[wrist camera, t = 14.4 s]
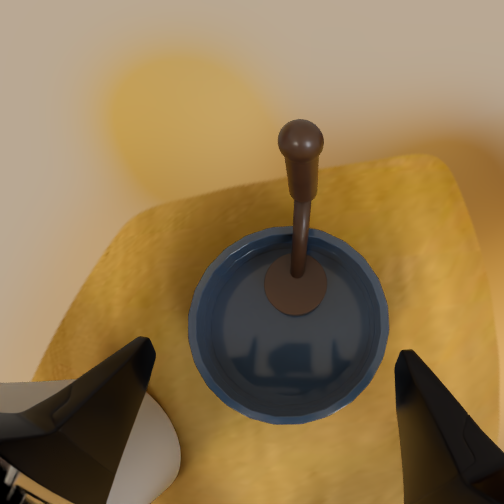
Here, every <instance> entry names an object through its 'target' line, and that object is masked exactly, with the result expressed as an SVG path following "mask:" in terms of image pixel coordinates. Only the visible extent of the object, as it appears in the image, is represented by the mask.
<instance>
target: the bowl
mask: <svg viewBox="0 0 504 504" xmlns="http://www.w3.org/2000/svg"><path fill="white" fill-rule="evenodd" d="M292 235H293V226H286V227H272V228H268V229H265V230H262V231H259V232H256V233H252V234H249V235H247V236H245V237H243V238H241V239H240V240H238V241H237V242H235V243H234V244H232V245H230V246H229V247H227V248H226V249H225V250H224V251H223V252H222V253H221V254H220V255H219V256H218V257H217V258H216V259H215V260H214V261H213V262H212V263H211V264H210V265H209V266H208V268H207V269H206V271H205V273H204V275H203V276H202V278H201V280H200V282H199V283H198V285H197V287H196V290H195V292H194V295H193V299H192V303H191V307H190V310H189V314H188V339H189V344H190V348H191V352H192V355H193V359H194V363H195V365H196V367H197V369H198V370H199V372H200V374H201V376H202V378H203V379H204V381H205V383H206V384H207V386H208V387H209V388H210V389H211V390H212V391H213V392H214V393H215V394H216V395H217V396H218V397H219V398H220V399H221V400H222V401H223V402H224V403H225V404H226V405H227V406H229V407H231V408H232V409H234V410H236V411H238V412H239V413H241V414H243V415H245V416H247V417H249V418H251V419H255V420H259V421H262V422H266V423H270V424H304V423H308V422H311V421H315V420H318V419H322V418H325V417H328V416H330V415H332V414H333V413H335V412H337V411H338V410H340V409H342V408H343V407H345V406H346V405H348V404H350V403H351V402H352V401H353V400H354V399H355V398H356V397H357V396H358V395H359V394H360V393H361V392H362V391H363V390H364V389H365V388H366V387H367V386H368V384H369V383H370V382H371V380H372V379H373V377H374V375H375V373H376V371H377V369H378V367H379V365H380V364H381V362H382V360H383V357H384V353H385V349H386V344H387V339H388V335H389V317H388V305H387V301H386V298H385V295H384V292H383V290H382V287H381V284H380V281H379V279H378V277H377V276H376V274H375V273H374V271H373V270H372V269H371V267H370V266H369V264H368V263H367V261H366V260H365V259H364V257H363V256H361V255H360V254H359V253H358V252H357V251H355V250H354V249H353V248H352V247H351V246H350V245H348V244H347V243H346V242H344V241H343V240H341V239H338V238H336V237H334V236H332V235H330V234H328V233H326V232H323V231H321V230H316V229H311V228H309V233H308V244H307V255H309V256H311V257H313V258H314V259H316V260H317V261H318V262H319V263H320V264H321V266H322V267H323V269H324V271H325V274H326V277H327V290H326V293H325V296H324V298H323V300H322V302H321V303H320V305H319V306H318V307H317V308H316V309H315V310H313V311H312V312H310V313H308V314H305V315H302V316H290V315H286V314H283V313H282V312H280V311H278V310H277V309H276V308H275V307H274V306H273V305H272V304H271V303H270V302H269V300H268V298H267V296H266V293H265V289H264V279H265V275H266V272H267V270H268V268H269V267H270V265H271V264H272V263H273V262H274V261H275V260H276V259H278V258H279V257H281V256H283V255H286V254H289V253H291V252H292Z"/></svg>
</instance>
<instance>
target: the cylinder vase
mask: <svg viewBox="0 0 504 504" xmlns="http://www.w3.org/2000/svg"><path fill="white" fill-rule="evenodd" d="M75 380H76V379H70V380H58V381H42V382H20V383H0V412H1V413H19V412H23V411H25V410H27V409H29V408H31V407H33V406H34V405H36V404H38V403H40V402H42V401H43V400H45V399H47V398H49V397H50V396H52V395H54V394H56V393H57V392H59V391H60V390H62V389H63V388H65V387H66V386H68V385H69V384H72V382H74V381H75ZM180 462H181V451H180V445H179V441H178V437H177V434H176V432H175V429H174V427H173V425H172V423H171V421H170V419H169V418H168V416H167V415H166V413H165V412H164V410H163V409H162V408H161V406H160V405H159V404H158V403H157V402H156V401H155V400H154V399H153V398H152V397H151V396H150V395H149V394H148V393H147V392H146V393H145V396H144V399H143V401H142V404H141V407H140V409H139V412H138V414H137V417H136V420H135V422H134V425H133V428H132V430H131V433H130V436H129V439H128V441H127V444H126V447H125V450H124V452H123V455H122V458H121V461H120V464H119V467H118V470H117V472H116V475H115V479H114V482H113V485H112V488H111V491H110V494H109V497H108V500H107V503H106V504H150V503H151V502H152V501H154V500H155V499H156V498H157V497H158V496H159V495H160V494H161V493H162V492H164V491H165V490H166V489H167V488H168V487H169V486H170V485H171V484H172V483H173V481H174V480H175V478H176V476H177V474H178V472H179V468H180Z"/></svg>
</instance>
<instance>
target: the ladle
mask: <svg viewBox="0 0 504 504" xmlns="http://www.w3.org/2000/svg"><path fill="white" fill-rule="evenodd" d="M323 144H324V139H323V135H322V133H321V131H320V129H319V128H318V127H317V126H316V125H315V124H313V123H312V122H310V121H308V120H303V119H298V120H293V121H290V122H288V123H287V124H286V125H284V127H283V128H282V129H281V131H280V133H279V136H278V146H279V149H280V151H281V153H282V154H283V155H284V157H285V163H286V170H287V177H288V185H289V192H290V195H291V197H292V198H293V199H294V216H293V235H292V252H291V253H289V254H286V255H283V256H281V257H279V258H278V259H276V260H275V261H274V262H273V263H272V264H271V265H270V267H269V268H268V270H267V272H266V275H265V279H264V289H265V293H266V296H267V298H268V300H269V302H270V303H271V304H272V305H273V306H274V307H275V308H276V309H277V310H278V311H280V312H282V313H283V314H286V315H290V316H302V315H305V314H308V313H310V312H312V311H313V310H315V309H316V308H317V307H318V306H319V305H320V303H321V302H322V300H323V298H324V296H325V293H326V290H327V277H326V274H325V271H324V269H323V267H322V266H321V264H320V263H319V262H318V261H317V260H316V259H314V258H313V257H311V256H309V255H307V244H308V233H309V222H310V210H311V200H313V199H314V198H315V196H316V194H317V185H318V161H319V155H320V153H321V152H322V149H323Z"/></svg>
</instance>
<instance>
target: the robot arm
mask: <svg viewBox="0 0 504 504" xmlns="http://www.w3.org/2000/svg"><path fill="white" fill-rule="evenodd" d="M155 358H156V353H155V350H154V347H153V345H152V343H151V340H150V339H149V338H147V337H141V336H140V337H137V338H136V339H134V340H133V341H131V342H130V343H129V344H127V345H126V346H124V347H123V348H121V349H120V350H118V351H117V352H116V353H114V354H113V355H111V356H110V357H108V358H107V359H105V360H104V361H103V362H101V363H100V364H98V365H97V366H95V367H94V368H92V369H91V370H89V371H88V372H87V373H85V374H84V375H82V376H81V377H79V378H78V379H76V380H75V381H74V382H72V384H69V385H68V386H66V387H65V388H63V389H62V390H60V391H59V392H57V393H56V394H54V395H52V396H50V397H49V398H47V399H45V400H43V401H42V402H40V403H38V404H36V405H34V406H33V407H31V408H29V409H27V410H25V411H23V412H19V413H1V412H0V504H106V503H107V500H108V497H109V494H110V491H111V488H112V485H113V482H114V479H115V475H116V472H117V470H118V467H119V464H120V461H121V458H122V455H123V452H124V450H125V447H126V444H127V441H128V439H129V436H130V433H131V430H132V428H133V425H134V422H135V420H136V417H137V414H138V412H139V409H140V407H141V404H142V401H143V399H144V396H145V393H146V391H147V387H148V384H149V380H150V376H151V373H152V369H153V365H154V362H155ZM394 371H395V391H396V412H397V419H398V427H399V436H400V445H401V456H402V468H403V485H404V504H504V452H503V451H502V450H501V449H500V448H499V447H498V446H497V445H496V444H495V443H494V442H493V441H492V440H491V439H490V438H489V437H488V436H487V435H486V434H485V433H484V432H483V431H482V430H481V429H480V427H479V426H478V425H477V424H476V423H475V422H474V420H473V419H472V418H471V417H470V415H468V413H467V412H466V411H465V409H464V408H463V407H462V406H461V405H460V403H459V402H458V401H457V400H456V399H455V397H454V396H453V395H452V394H451V393H450V392H449V390H448V389H447V388H446V387H445V386H444V384H443V383H442V382H441V381H440V380H439V379H438V378H437V376H436V375H435V374H434V373H433V372H432V371H431V370H430V368H429V367H428V366H427V365H426V364H425V363H424V362H423V361H422V359H421V358H420V357H419V356H418V355H417V354H416V353H415V352H414V351H413V350H412V349H408V350H402V351H401V352H400V354H399V357H398V359H397V362H396V364H395V370H394Z"/></svg>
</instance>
